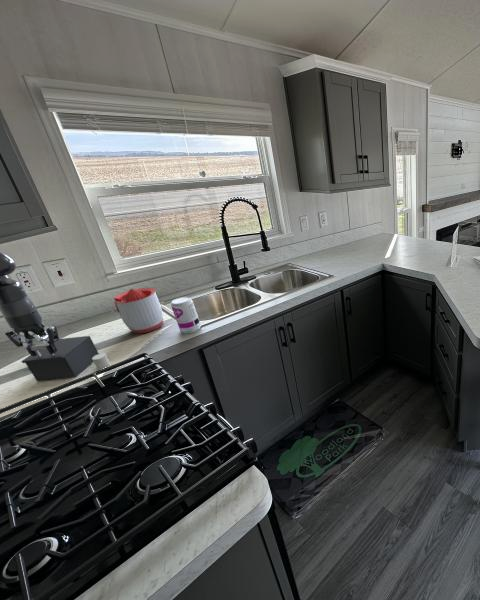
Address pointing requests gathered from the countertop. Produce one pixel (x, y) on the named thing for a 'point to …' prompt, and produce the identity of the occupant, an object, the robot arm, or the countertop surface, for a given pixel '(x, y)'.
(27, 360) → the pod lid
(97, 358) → the cylinder
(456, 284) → the countertop surface
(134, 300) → the citrus juicer
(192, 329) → the supplement can
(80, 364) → the black tray box
